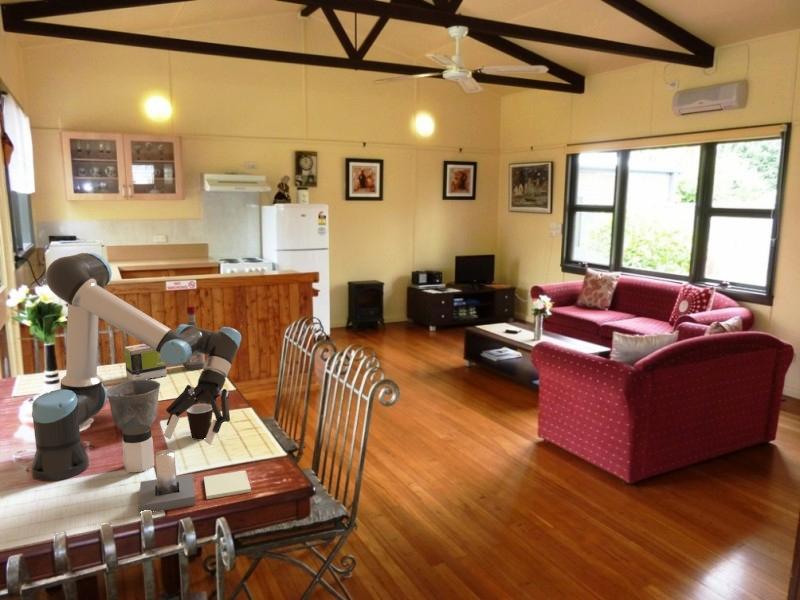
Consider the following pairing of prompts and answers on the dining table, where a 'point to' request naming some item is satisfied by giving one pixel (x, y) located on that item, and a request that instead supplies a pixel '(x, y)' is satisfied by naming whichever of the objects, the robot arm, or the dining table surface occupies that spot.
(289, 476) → the dining table surface
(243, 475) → the cream square tile
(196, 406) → the coffee mug
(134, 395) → the grey tapered pot
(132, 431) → the jar
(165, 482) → the steel peg
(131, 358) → the tea box
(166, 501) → the grey square base
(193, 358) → the liquor
